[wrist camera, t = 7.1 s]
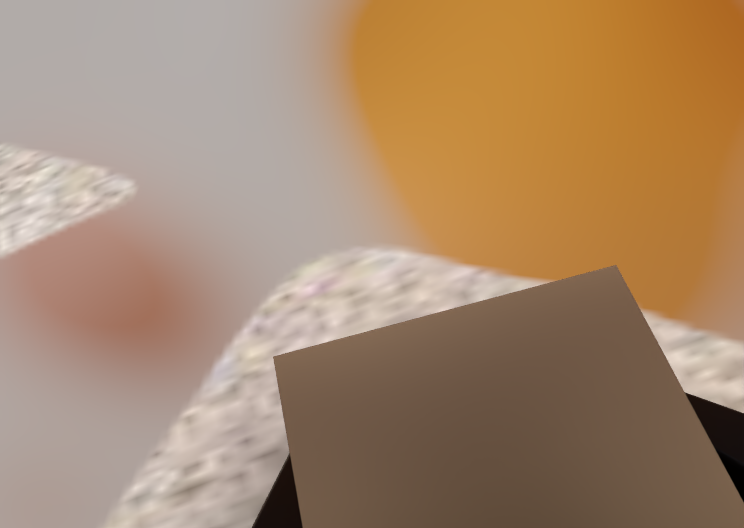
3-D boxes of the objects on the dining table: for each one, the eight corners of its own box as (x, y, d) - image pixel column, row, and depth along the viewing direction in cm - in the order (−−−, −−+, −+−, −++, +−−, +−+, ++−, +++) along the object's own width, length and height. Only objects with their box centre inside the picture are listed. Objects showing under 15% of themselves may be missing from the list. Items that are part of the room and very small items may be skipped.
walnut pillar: (534, 532, 13) (858, 715, 4) (379, 581, 13) (367, 897, 4) (477, 374, 15) (616, 264, 6) (341, 412, 15) (273, 356, 6)
